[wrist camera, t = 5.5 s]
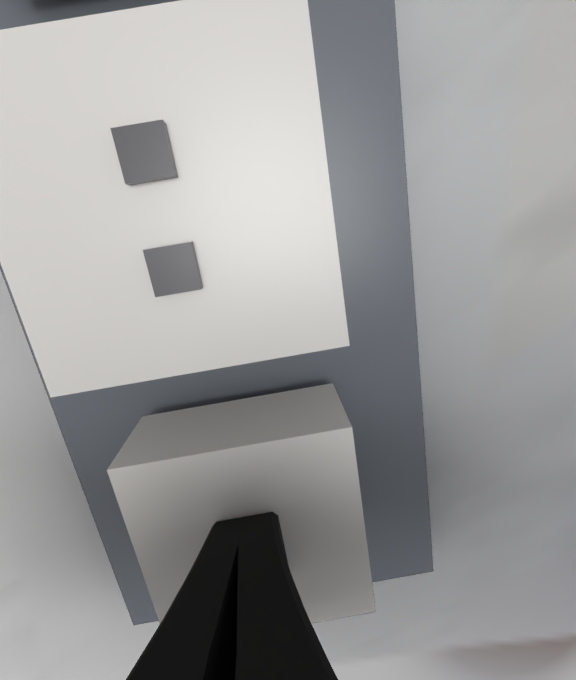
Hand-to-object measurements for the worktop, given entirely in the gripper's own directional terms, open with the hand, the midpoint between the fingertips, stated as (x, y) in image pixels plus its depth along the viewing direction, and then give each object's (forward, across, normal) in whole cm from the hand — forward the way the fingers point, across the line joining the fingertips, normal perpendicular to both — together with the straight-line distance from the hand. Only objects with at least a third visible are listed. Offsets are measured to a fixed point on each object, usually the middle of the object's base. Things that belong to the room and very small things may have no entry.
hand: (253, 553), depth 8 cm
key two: (+2, 0, -7) cm, 7 cm away
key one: (+2, 0, 0) cm, 2 cm away
